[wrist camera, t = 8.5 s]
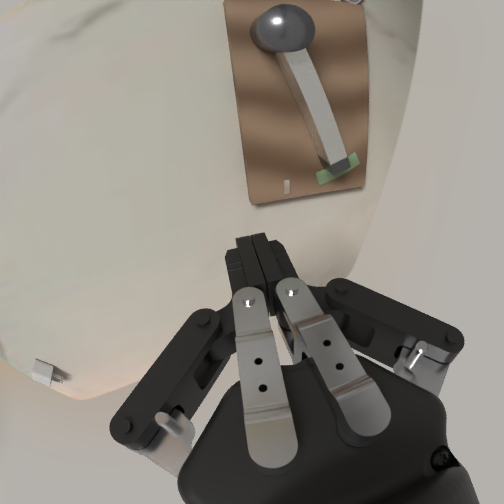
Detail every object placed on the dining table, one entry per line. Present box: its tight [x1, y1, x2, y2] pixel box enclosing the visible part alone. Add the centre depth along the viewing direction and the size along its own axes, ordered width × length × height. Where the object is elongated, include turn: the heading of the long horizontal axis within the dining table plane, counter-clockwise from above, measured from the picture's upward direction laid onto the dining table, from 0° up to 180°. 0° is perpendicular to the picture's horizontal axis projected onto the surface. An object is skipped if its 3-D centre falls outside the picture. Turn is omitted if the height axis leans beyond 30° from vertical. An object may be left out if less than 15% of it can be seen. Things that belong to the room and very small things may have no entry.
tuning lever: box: [250, 4, 351, 175], centre depth 22 cm, size 17×4×4 cm, turn 26°
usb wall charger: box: [32, 359, 63, 386], centre depth 43 cm, size 4×7×4 cm, turn 54°
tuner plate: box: [223, 0, 369, 205], centre depth 25 cm, size 22×14×2 cm, turn 6°
